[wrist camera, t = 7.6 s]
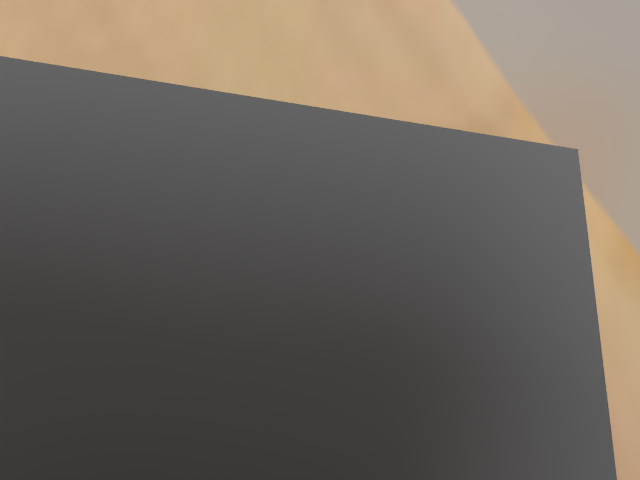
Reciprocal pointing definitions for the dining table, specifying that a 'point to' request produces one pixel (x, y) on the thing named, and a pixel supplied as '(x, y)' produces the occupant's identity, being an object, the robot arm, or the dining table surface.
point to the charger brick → (286, 292)
